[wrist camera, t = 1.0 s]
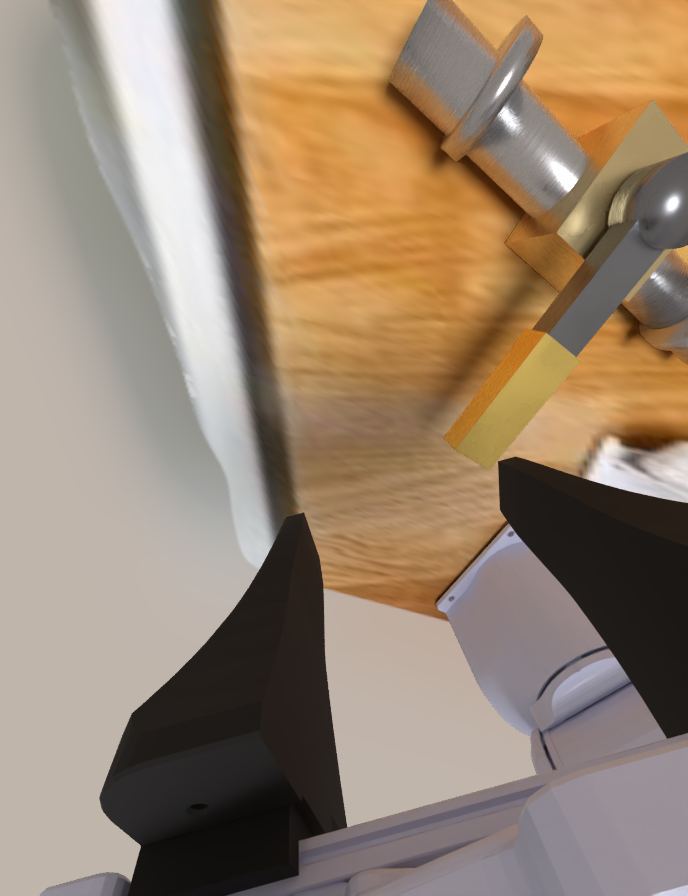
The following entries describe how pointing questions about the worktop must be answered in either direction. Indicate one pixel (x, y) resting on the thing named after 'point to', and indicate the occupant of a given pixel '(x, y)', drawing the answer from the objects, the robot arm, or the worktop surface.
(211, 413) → the worktop surface
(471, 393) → the worktop surface
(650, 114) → the valve body
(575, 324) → the lever
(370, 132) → the worktop surface
